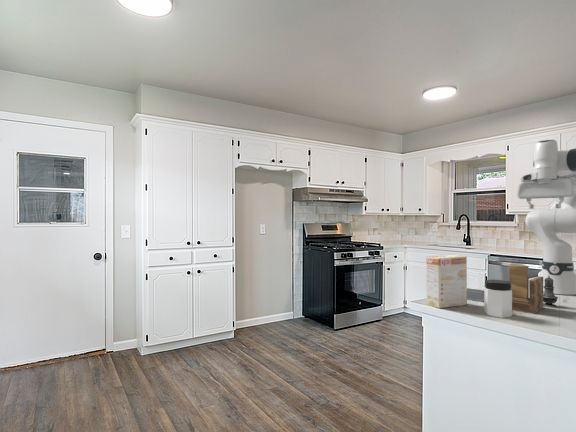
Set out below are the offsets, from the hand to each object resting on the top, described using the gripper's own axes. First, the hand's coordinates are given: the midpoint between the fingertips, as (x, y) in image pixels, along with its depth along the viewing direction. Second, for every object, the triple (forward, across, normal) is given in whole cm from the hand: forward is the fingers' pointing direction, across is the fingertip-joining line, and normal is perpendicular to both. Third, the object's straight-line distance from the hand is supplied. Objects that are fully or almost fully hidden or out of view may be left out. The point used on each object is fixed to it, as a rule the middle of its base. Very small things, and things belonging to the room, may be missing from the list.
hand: (544, 208), depth 156 cm
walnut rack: (+41, +4, +20) cm, 46 cm away
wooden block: (+41, +4, +17) cm, 44 cm away
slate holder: (+41, +21, +17) cm, 49 cm away
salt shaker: (+40, -4, +8) cm, 41 cm away
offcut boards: (+41, +4, +22) cm, 47 cm away
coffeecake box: (+43, +24, +36) cm, 61 cm away
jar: (+43, +6, +38) cm, 58 cm away
